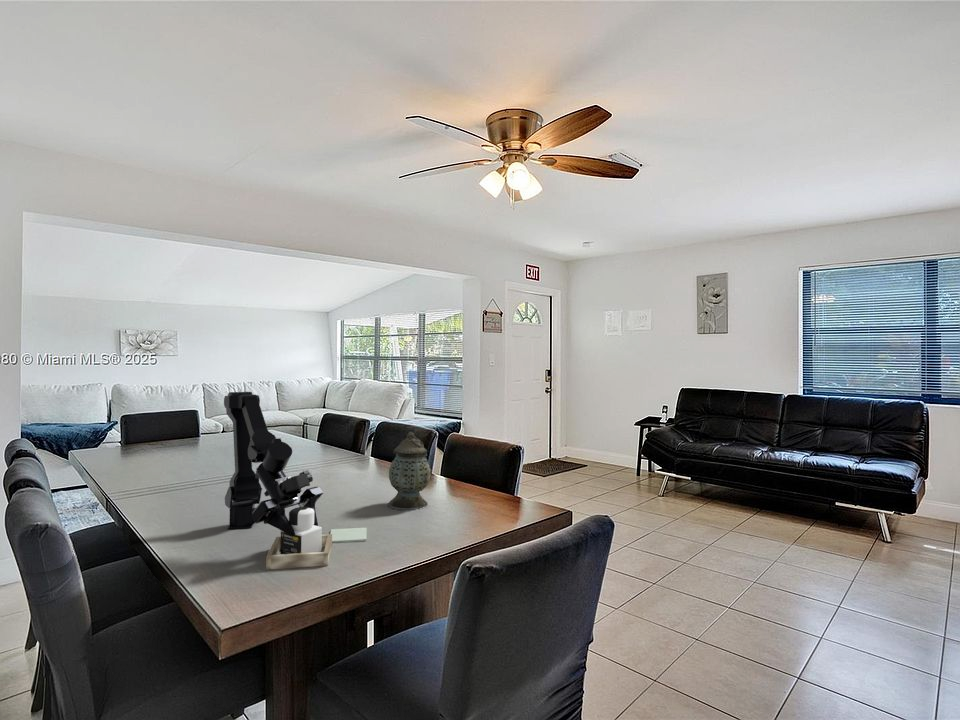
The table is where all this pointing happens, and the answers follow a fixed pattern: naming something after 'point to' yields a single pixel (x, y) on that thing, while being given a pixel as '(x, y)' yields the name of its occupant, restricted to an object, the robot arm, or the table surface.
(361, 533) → the sage mat
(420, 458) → the lantern
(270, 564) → the birch box
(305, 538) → the medicine bottle
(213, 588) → the table surface
